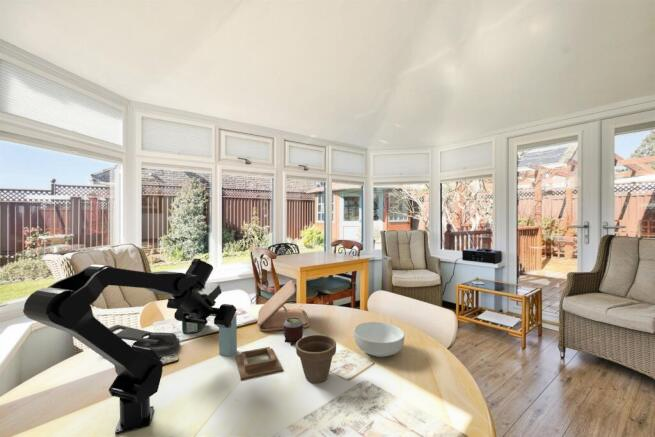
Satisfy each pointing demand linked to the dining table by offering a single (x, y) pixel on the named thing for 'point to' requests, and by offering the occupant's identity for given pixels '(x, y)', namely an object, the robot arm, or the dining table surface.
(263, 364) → the picture frame
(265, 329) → the case
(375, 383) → the dining table surface
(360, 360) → the dining table surface
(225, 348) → the pale blue rectangular block
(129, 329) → the zipper pull
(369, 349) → the cereal bowl
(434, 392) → the dining table surface
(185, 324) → the coffee jar
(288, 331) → the mate gourd
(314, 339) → the flower pot
